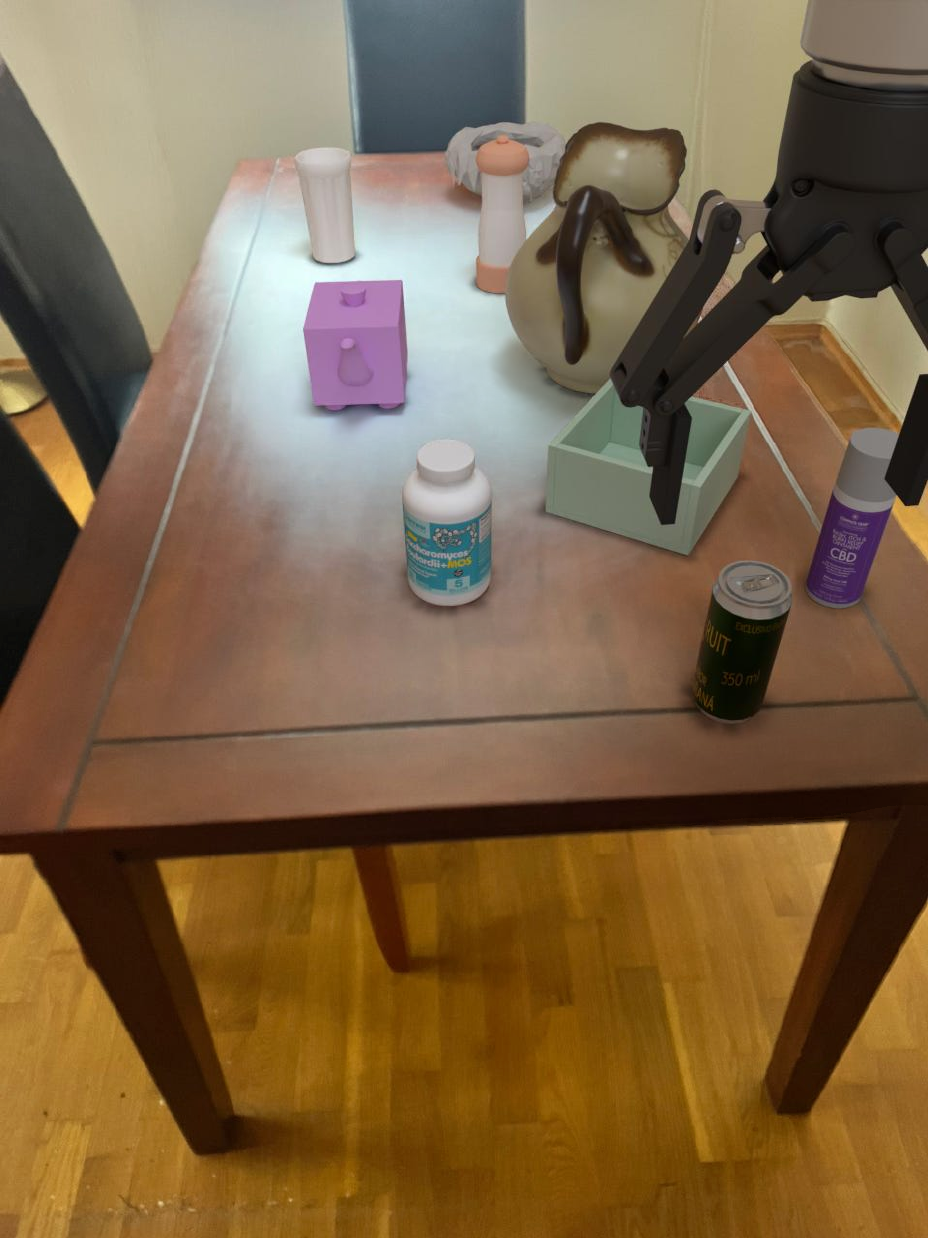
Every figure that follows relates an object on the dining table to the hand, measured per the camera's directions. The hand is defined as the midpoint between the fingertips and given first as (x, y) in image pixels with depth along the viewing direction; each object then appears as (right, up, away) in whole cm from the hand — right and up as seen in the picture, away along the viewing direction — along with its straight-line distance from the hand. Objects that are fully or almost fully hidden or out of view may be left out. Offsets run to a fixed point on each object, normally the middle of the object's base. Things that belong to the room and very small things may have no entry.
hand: (782, 501), depth 51 cm
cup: (-37, +48, +88) cm, 107 cm away
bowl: (-10, +65, +106) cm, 125 cm away
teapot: (-29, +19, +57) cm, 67 cm away
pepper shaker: (-12, +41, +80) cm, 91 cm away
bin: (0, +6, +41) cm, 41 cm away
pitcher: (-1, +23, +60) cm, 64 cm away
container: (+15, -4, +30) cm, 33 cm away
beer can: (+3, -13, +20) cm, 24 cm away
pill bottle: (-19, -3, +32) cm, 37 cm away
